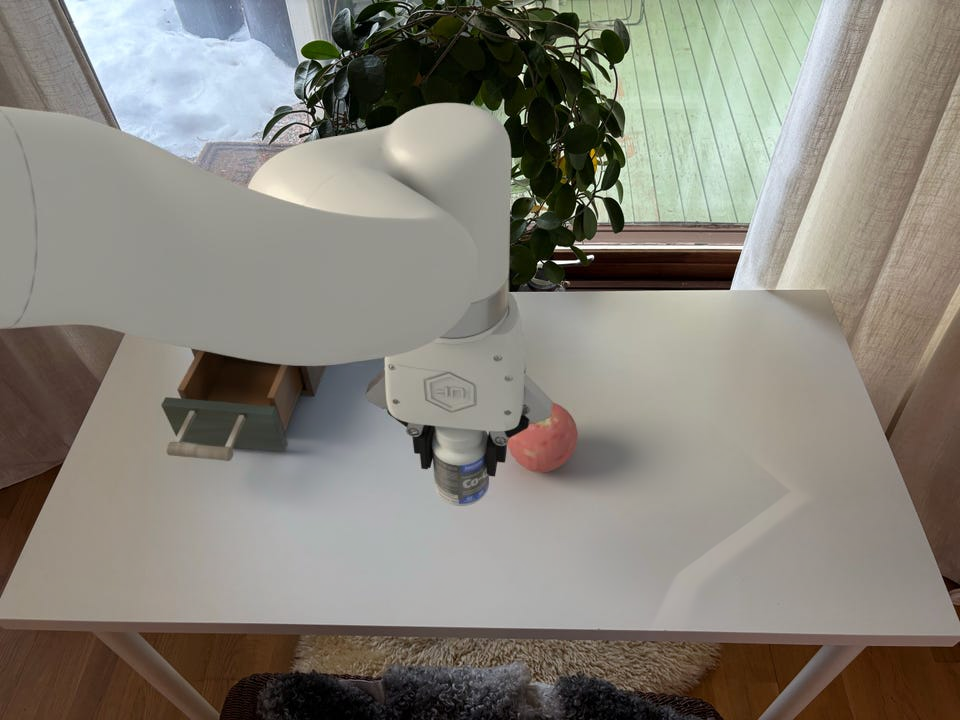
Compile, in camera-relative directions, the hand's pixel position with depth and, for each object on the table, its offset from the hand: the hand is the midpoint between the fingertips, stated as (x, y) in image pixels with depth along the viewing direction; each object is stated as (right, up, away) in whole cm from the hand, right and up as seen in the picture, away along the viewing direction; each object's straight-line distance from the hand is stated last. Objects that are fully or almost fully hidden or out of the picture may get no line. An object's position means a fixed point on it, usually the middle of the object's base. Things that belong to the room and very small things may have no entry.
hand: (461, 457), depth 66 cm
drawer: (-26, +1, +24) cm, 35 cm away
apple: (+8, -3, +21) cm, 23 cm away
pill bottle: (0, -3, +3) cm, 4 cm away
